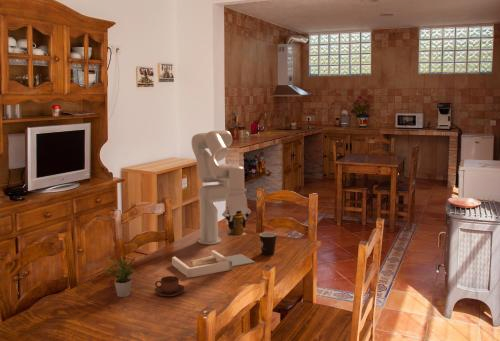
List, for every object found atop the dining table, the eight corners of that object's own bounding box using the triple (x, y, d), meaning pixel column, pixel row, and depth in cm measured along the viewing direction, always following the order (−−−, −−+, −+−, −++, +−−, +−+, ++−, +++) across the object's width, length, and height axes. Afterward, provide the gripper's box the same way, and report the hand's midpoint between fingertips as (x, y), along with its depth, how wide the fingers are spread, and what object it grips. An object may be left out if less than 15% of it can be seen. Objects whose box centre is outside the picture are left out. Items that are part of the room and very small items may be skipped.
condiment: (246, 234, 263) (246, 210, 261) (233, 237, 257) (233, 212, 255) (237, 231, 268) (236, 207, 266) (224, 234, 263) (223, 210, 261)
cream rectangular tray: (172, 265, 260) (172, 257, 259) (214, 257, 270) (213, 250, 270) (188, 277, 242) (188, 269, 242) (232, 269, 253) (232, 261, 252)
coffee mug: (276, 256, 273) (276, 236, 271) (259, 256, 273) (259, 236, 271) (276, 249, 284) (276, 230, 283) (259, 249, 284) (259, 230, 283)
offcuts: (189, 272, 251) (189, 260, 250) (214, 265, 259) (213, 254, 259) (194, 274, 247) (194, 263, 246) (219, 268, 256) (219, 257, 255)
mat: (220, 258, 269) (220, 257, 269) (241, 255, 274) (241, 253, 274) (232, 266, 257) (232, 265, 256) (254, 262, 262) (254, 261, 262)
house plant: (128, 284, 235) (126, 248, 232) (149, 292, 226) (148, 254, 223) (100, 294, 224) (98, 256, 221) (121, 302, 215) (119, 263, 212)
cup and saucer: (157, 300, 218) (156, 285, 217) (154, 289, 229) (153, 275, 228) (186, 297, 221) (186, 282, 220) (182, 286, 232) (181, 272, 231)
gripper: (248, 188, 267) (248, 224, 270) (217, 192, 259) (217, 228, 262) (255, 191, 261) (256, 227, 264) (223, 194, 253) (224, 232, 255)
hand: (236, 227), depth 263 cm, fingers closed on condiment, 6 cm apart
